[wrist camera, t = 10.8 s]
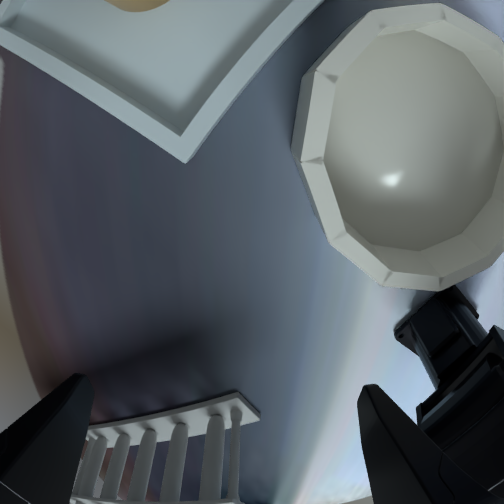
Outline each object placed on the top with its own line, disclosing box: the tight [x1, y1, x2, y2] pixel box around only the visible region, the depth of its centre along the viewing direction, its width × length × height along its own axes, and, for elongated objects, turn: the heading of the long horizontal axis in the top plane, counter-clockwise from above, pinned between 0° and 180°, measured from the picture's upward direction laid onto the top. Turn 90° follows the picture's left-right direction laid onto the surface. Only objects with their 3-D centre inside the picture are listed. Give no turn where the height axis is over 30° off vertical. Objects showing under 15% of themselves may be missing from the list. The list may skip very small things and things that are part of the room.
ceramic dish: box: [291, 3, 504, 292], centre depth 15 cm, size 16×16×4 cm
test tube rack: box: [70, 392, 261, 504], centre depth 24 cm, size 25×4×13 cm, turn 119°
